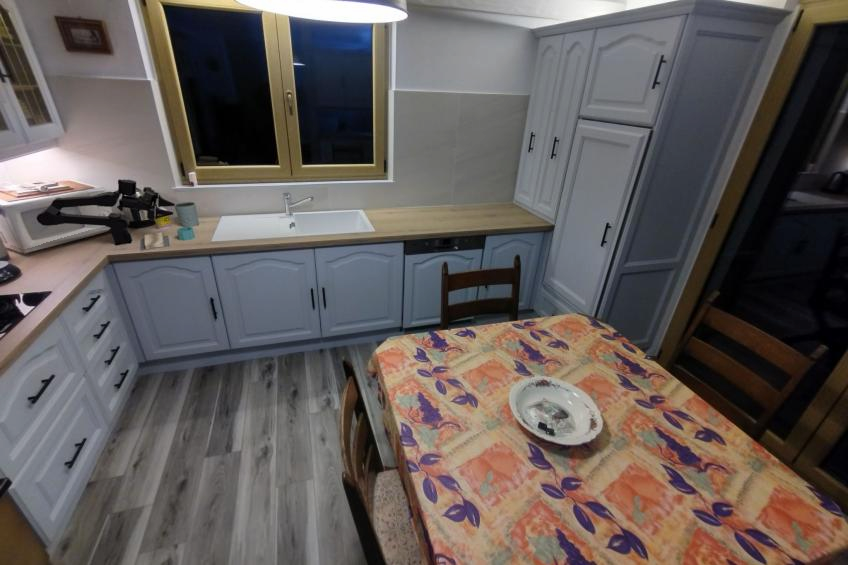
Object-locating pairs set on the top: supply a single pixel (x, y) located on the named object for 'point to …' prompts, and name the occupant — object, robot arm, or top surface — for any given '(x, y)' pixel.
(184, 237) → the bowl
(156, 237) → the cover board
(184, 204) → the grey-green cup
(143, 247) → the mat
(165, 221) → the supplement bottle
